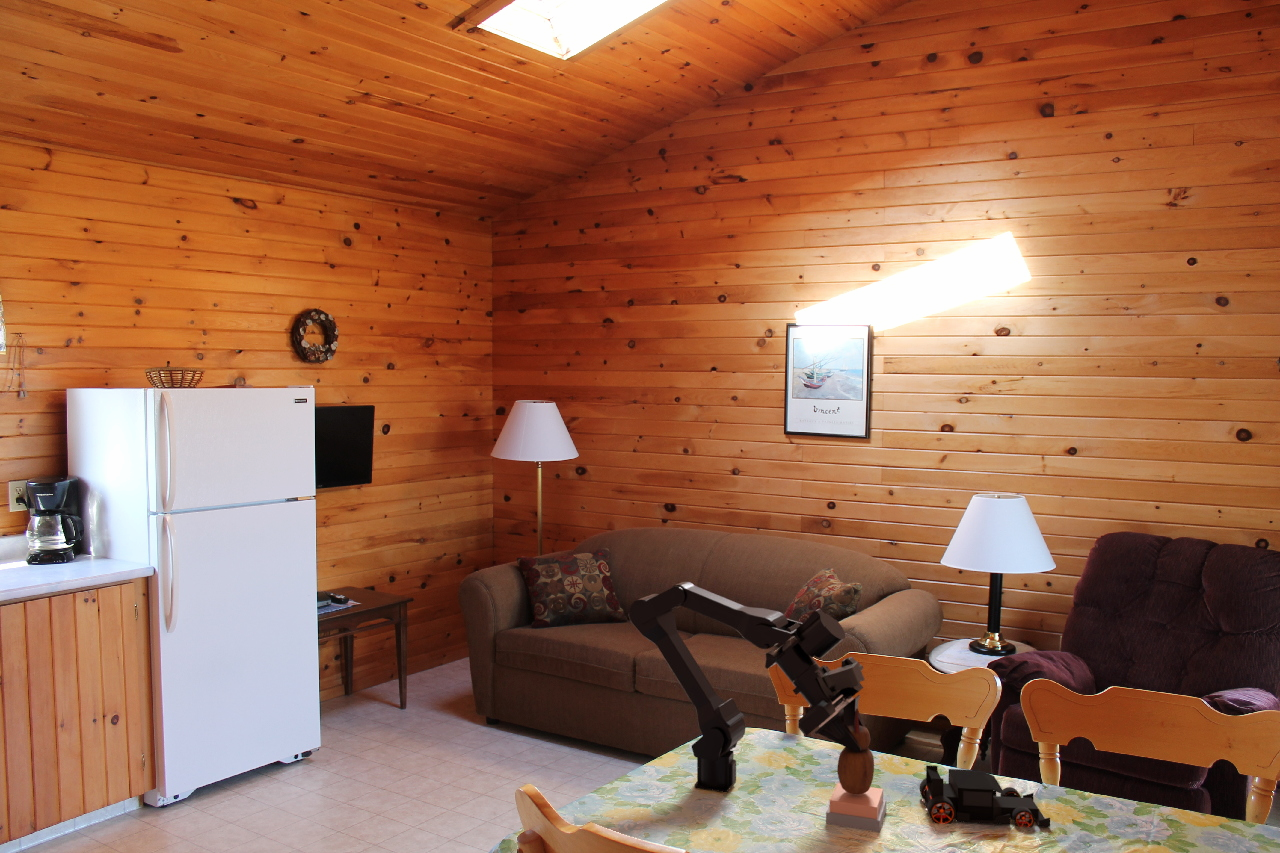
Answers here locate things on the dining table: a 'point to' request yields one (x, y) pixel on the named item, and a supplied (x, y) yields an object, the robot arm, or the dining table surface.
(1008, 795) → the black toy car
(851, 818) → the brick plinth
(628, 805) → the dining table surface
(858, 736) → the wooden figurine
